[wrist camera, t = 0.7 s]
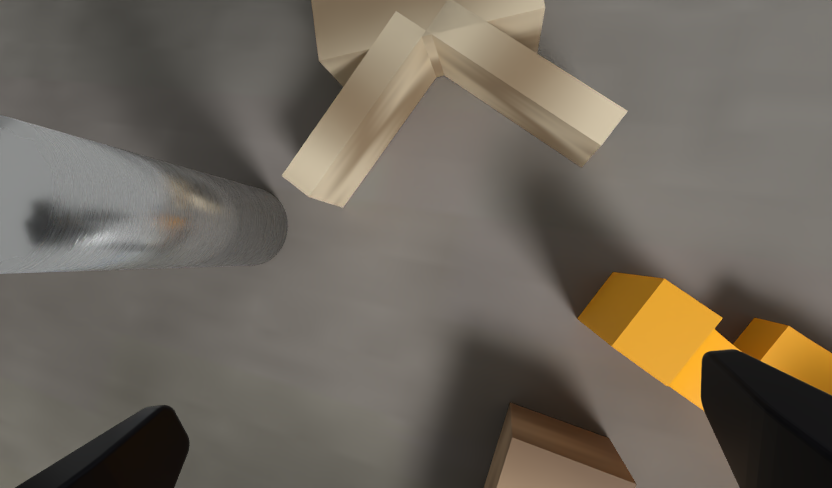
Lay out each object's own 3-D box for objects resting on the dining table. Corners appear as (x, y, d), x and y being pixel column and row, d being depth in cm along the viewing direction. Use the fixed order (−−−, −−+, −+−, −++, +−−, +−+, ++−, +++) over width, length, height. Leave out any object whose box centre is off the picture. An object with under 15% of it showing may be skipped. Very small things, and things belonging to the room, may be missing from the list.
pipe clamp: (902, 417, 18) (1129, 507, 11) (829, 500, 18) (1009, 633, 12) (636, 239, 20) (701, 231, 13) (576, 318, 20) (611, 346, 14)
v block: (606, 163, 20) (632, 140, 16) (323, 211, 22) (284, 201, 18) (571, -49, 20) (588, -122, 16) (299, 20, 23) (257, -29, 19)
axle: (274, 275, 23) (28, 295, 11) (207, 252, 23) (-92, 247, 12) (296, 199, 22) (72, 136, 11) (228, 179, 23) (-51, 98, 11)
